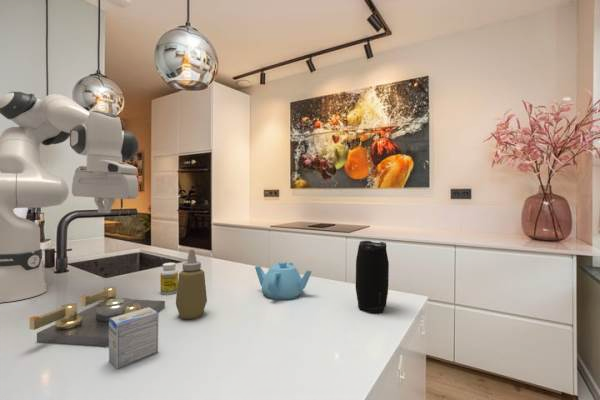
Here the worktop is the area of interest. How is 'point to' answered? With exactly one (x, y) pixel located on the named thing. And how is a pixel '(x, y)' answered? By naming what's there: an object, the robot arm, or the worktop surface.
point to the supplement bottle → (169, 279)
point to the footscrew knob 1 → (58, 318)
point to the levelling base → (96, 322)
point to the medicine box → (133, 336)
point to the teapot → (282, 281)
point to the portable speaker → (372, 276)
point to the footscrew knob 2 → (99, 296)
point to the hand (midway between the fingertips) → (104, 213)
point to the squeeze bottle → (191, 289)
